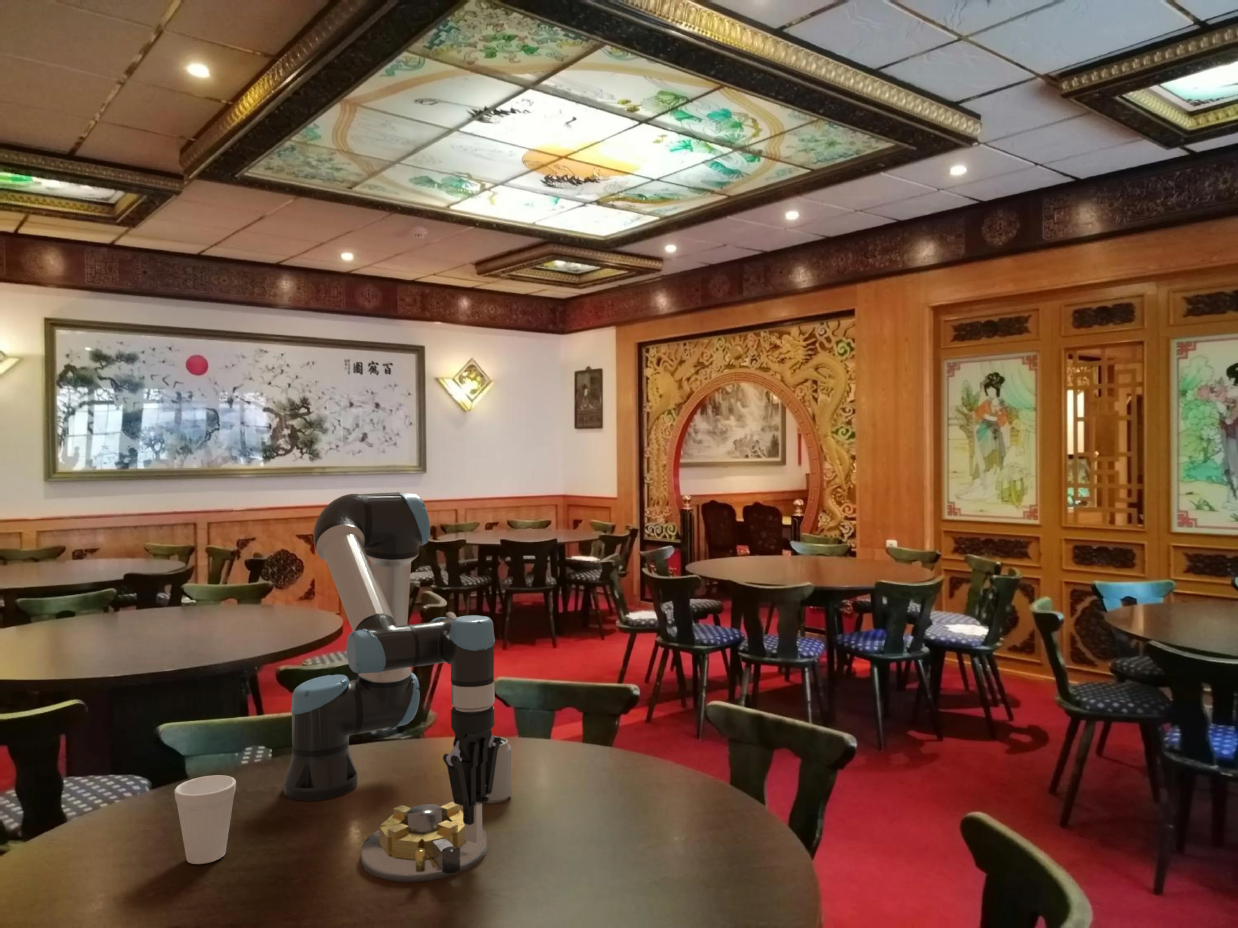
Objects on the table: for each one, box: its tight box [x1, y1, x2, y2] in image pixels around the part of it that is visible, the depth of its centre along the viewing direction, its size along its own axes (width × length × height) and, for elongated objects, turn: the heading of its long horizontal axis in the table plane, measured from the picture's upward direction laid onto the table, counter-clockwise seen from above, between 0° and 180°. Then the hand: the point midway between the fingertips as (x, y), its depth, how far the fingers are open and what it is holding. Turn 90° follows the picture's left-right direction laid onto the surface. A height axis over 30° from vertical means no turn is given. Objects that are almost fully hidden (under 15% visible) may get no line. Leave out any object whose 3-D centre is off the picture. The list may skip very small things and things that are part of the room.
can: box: [484, 736, 513, 804], centre depth 180 cm, size 8×8×12 cm
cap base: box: [361, 803, 488, 883], centre depth 155 cm, size 22×22×8 cm
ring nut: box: [379, 801, 467, 874], centre depth 152 cm, size 22×15×4 cm, turn 31°
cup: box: [174, 774, 237, 865], centre depth 153 cm, size 10×10×13 cm
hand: (473, 839), depth 151 cm, fingers closed
